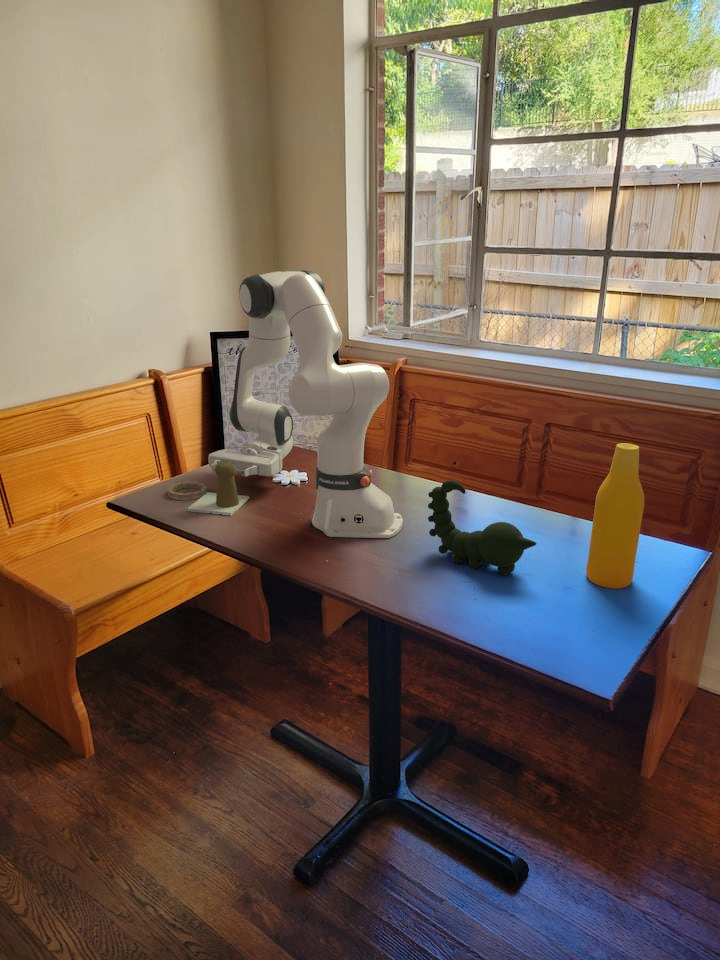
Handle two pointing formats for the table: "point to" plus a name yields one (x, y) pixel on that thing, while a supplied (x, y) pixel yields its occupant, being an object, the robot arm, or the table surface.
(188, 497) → the ring
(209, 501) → the ceramic tile
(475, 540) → the toy figurine
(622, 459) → the beer bottle
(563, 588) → the table surface
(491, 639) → the table surface
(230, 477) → the cork
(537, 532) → the table surface
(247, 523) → the table surface
